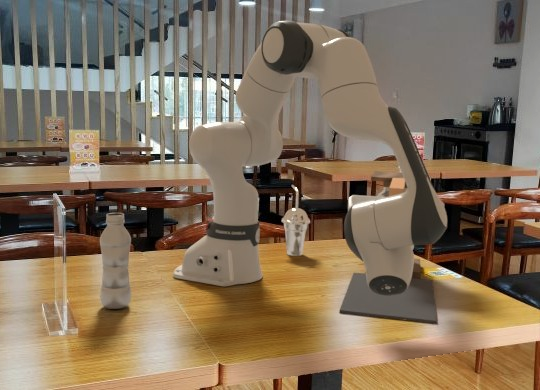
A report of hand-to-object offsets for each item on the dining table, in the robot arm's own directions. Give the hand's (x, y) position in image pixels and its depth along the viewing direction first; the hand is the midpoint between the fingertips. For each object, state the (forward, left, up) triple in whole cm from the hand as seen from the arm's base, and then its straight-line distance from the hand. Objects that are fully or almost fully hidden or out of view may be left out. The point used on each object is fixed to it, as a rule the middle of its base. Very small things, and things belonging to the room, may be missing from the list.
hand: (396, 190), depth 131 cm
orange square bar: (0, +5, -2) cm, 5 cm away
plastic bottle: (-56, -24, -26) cm, 66 cm away
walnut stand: (0, +26, -26) cm, 37 cm away
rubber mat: (0, +3, -26) cm, 26 cm away
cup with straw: (-29, +34, -26) cm, 52 cm away
